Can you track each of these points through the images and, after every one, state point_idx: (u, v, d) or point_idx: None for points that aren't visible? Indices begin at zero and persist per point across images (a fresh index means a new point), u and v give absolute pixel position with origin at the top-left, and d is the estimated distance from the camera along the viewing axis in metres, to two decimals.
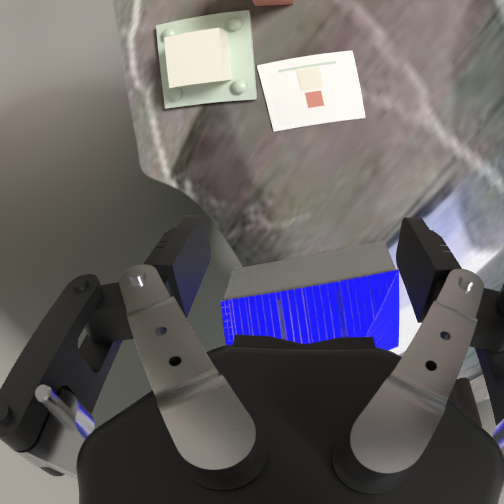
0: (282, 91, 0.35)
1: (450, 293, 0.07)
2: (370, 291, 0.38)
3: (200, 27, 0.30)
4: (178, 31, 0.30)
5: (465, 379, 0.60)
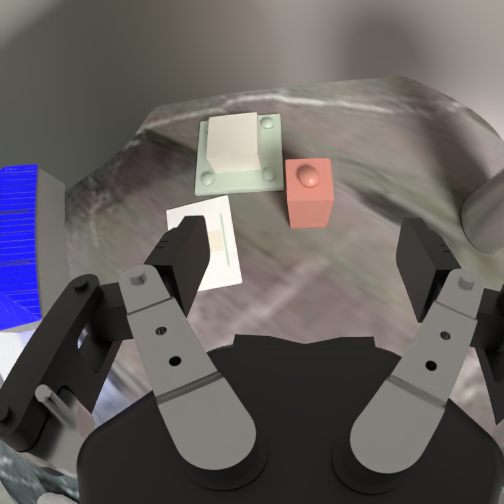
0: None
1: (450, 293, 0.07)
2: (25, 291, 0.34)
3: (270, 148, 0.41)
4: (269, 130, 0.42)
5: None
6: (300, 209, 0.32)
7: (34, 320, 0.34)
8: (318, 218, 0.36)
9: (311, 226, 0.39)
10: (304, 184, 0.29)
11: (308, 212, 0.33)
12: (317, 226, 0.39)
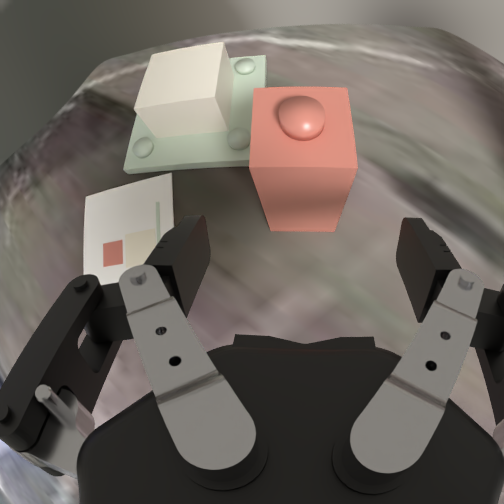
0: (129, 207, 0.25)
1: (450, 293, 0.07)
2: None
3: (245, 100, 0.24)
4: (247, 76, 0.25)
5: None
6: (283, 192, 0.15)
7: None
8: (319, 214, 0.18)
9: (307, 229, 0.22)
10: (290, 130, 0.12)
11: (299, 199, 0.16)
12: (318, 229, 0.22)
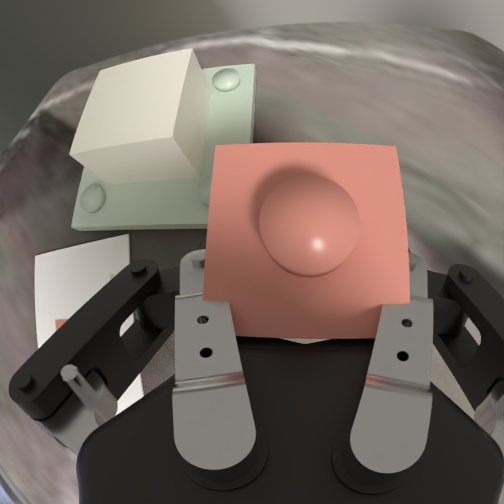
0: (80, 277, 0.18)
1: None
2: None
3: (225, 129, 0.18)
4: (228, 94, 0.19)
5: None
6: None
7: None
8: None
9: None
10: (282, 264, 0.06)
11: None
12: None
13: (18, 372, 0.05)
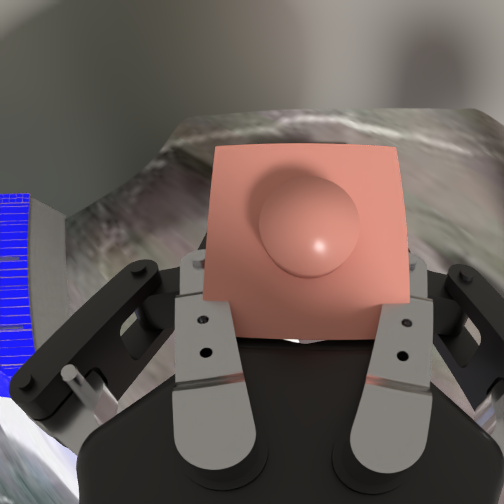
0: None
1: None
2: (20, 364, 0.25)
3: None
4: None
5: None
6: None
7: None
8: None
9: None
10: (282, 266, 0.06)
11: None
12: None
13: (18, 372, 0.05)
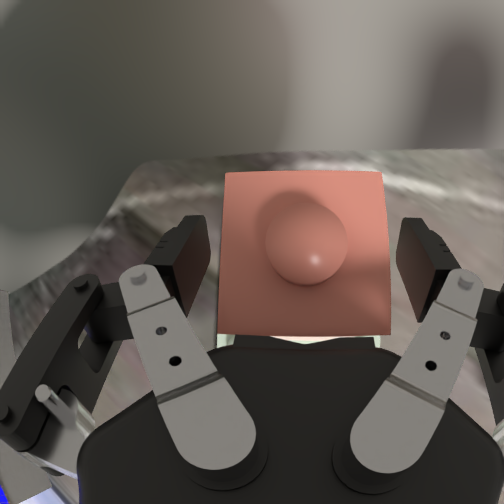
0: None
1: (450, 293, 0.07)
2: None
3: None
4: None
5: None
6: None
7: None
8: None
9: None
10: (284, 277, 0.08)
11: None
12: None
13: None
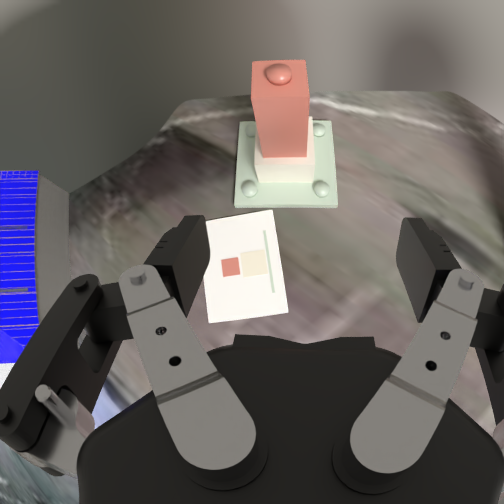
0: (240, 233, 0.36)
1: (450, 293, 0.07)
2: (23, 325, 0.28)
3: (322, 158, 0.36)
4: (320, 139, 0.37)
5: None
6: (270, 117, 0.25)
7: None
8: (294, 138, 0.28)
9: (288, 155, 0.31)
10: (272, 80, 0.22)
11: (280, 123, 0.26)
12: (295, 155, 0.31)
13: None
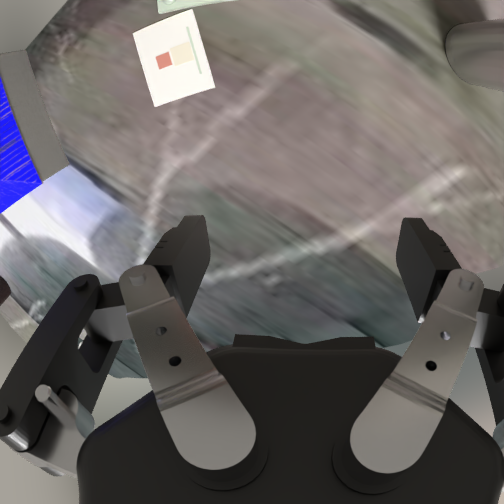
0: (168, 32, 0.32)
1: (450, 293, 0.07)
2: (20, 167, 0.35)
3: None
4: None
5: (8, 289, 0.66)
6: None
7: (36, 186, 0.38)
8: None
9: None
10: None
11: None
12: None
13: None
